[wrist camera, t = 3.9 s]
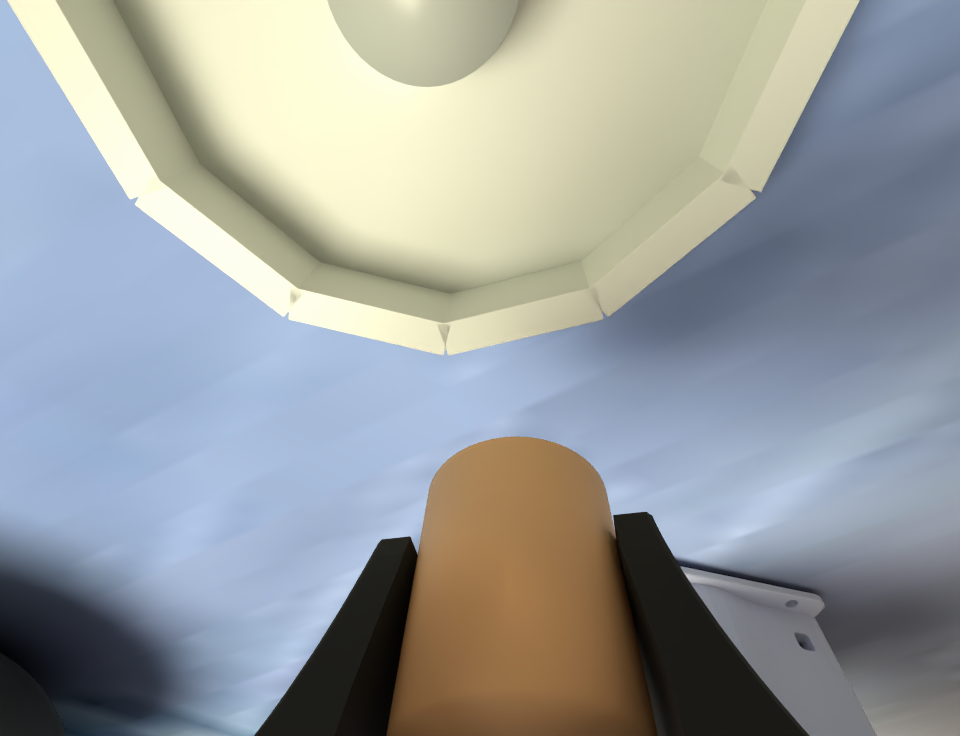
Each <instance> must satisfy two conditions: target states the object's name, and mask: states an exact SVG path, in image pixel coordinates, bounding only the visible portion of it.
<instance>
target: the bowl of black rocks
mask: <svg viewBox="0 0 960 736" xmlns="http://www.w3.org/2000/svg"><path fill="white" fill-rule="evenodd" d="M0 736H66V734H65V731H64V728H63V725H62V722H61V719H60V717H59V715H58V713H57V711H56V709H55V707H54V705H53V703H52V701H51V700H50V698H49V697H48V695H47V694H46V693H45V691H44V690H43V689H42V688H41V686H40V685H39V684H38V682H37V681H36V680H35V679H34V678H33V677H32V676H31V675H30V674H29V673H27V672H26V671H25V670H24V669H23V668H22V667H20V666H19V665H18V664H17V663H15V662H14V661H13V660H11V659H10V658H8V657H7V656H5V655H3V654H2V653H0Z"/></svg>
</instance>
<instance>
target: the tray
mask: <svg viewBox="0 0 960 736" xmlns="http://www.w3.org/2000/svg"><path fill="white" fill-rule="evenodd" d="M7 1H8V2H9V4H10V6H11V7H12V9H13V11H14V12H15V14H16V15H17V17H18V19H19V20H20V22H21V23H22V25H23V27H24V28H25V30H26V32H27V33H28V35H29V36H30V38H31V40H32V41H33V43H34V45H35V46H36V48H37V49H38V51H39V53H40V54H41V56H42V58H43V59H44V61H45V62H46V64H47V66H48V67H49V69H50V71H51V72H52V74H53V75H54V77H55V79H56V80H57V82H58V83H59V85H60V87H61V88H62V90H63V92H64V93H65V95H66V96H67V98H68V100H69V101H70V103H71V105H72V106H73V108H74V109H75V111H76V113H77V114H78V116H79V118H80V119H81V121H82V122H83V124H84V126H85V127H86V129H87V130H88V132H89V134H90V135H91V137H92V139H93V140H94V142H95V143H96V145H97V147H98V148H99V150H100V152H101V153H102V155H103V156H104V158H105V160H106V161H107V163H108V165H109V166H110V168H111V169H112V171H113V173H114V174H115V176H116V178H117V179H118V181H119V182H120V184H121V186H122V187H123V189H124V190H125V192H126V194H127V195H128V197H129V199H132V198H135V197H138V196H139V198H138V200H137V202H136V203H135V205H136V206H137V207H139V208H140V209H141V210H143V211H144V212H145V213H147V214H148V215H149V216H151V217H152V218H153V219H155V220H156V221H157V222H159V223H160V224H161V225H163V226H164V227H165V228H166V229H168V230H169V231H170V232H172V233H173V234H174V235H176V236H177V237H178V238H180V239H181V240H182V241H184V242H185V243H186V244H188V245H189V246H190V247H192V248H193V249H194V250H196V251H197V252H198V253H200V254H201V255H202V256H204V257H205V258H206V259H208V260H209V261H210V262H212V263H213V264H214V265H216V266H217V267H218V268H219V269H221V270H222V271H223V272H225V273H226V274H227V275H229V276H230V277H231V278H233V279H234V280H235V281H237V282H238V283H239V284H241V285H242V286H243V287H245V288H246V289H247V290H249V291H250V292H251V293H253V294H254V295H255V296H257V297H258V298H259V299H261V300H262V301H263V302H265V303H266V304H267V305H269V306H270V307H271V308H272V309H274V310H275V311H276V312H278V313H279V314H280V315H282V316H283V317H284V316H285V315H286V313H287V312H288V311H289V319H290V320H294V321H298V322H302V323H307V324H311V325H315V326H320V327H324V328H328V329H332V330H337V331H341V332H345V333H350V334H354V335H358V336H362V337H367V338H371V339H375V340H380V341H384V342H388V343H392V344H397V345H401V346H405V347H410V348H414V349H418V350H422V351H427V352H431V353H435V354H440V355H444V350H445V347H446V350H447V353H448V355H452V354H457V353H461V352H465V351H470V350H474V349H478V348H483V347H487V346H491V345H496V344H500V343H504V342H509V341H513V340H517V339H522V338H526V337H530V336H535V335H539V334H543V333H548V332H552V331H556V330H561V329H565V328H569V327H574V326H578V325H582V324H587V323H591V322H595V321H600V320H603V315H602V311H603V312H604V313H605V314H606V315H607V316H608V317H609V316H611V315H612V314H613V313H614V312H616V311H617V310H618V309H619V308H621V307H622V306H623V305H624V304H625V303H627V302H628V301H629V300H630V299H632V298H633V297H634V296H635V295H637V294H638V293H639V292H640V291H642V290H643V289H644V288H645V287H647V286H648V285H649V284H650V283H651V282H653V281H654V280H655V279H656V278H658V277H659V276H660V275H661V274H663V273H664V272H665V271H666V270H668V269H669V268H670V267H671V266H673V265H674V264H675V263H676V262H678V261H679V260H680V259H681V258H682V257H684V256H685V255H686V254H687V253H689V252H690V251H691V250H692V249H694V248H695V247H696V246H697V245H699V244H700V243H701V242H702V241H704V240H705V239H706V238H707V237H708V236H710V235H711V234H712V233H713V232H715V231H716V230H717V229H718V228H720V227H721V226H722V225H723V224H725V223H726V222H727V221H728V220H730V219H731V218H732V217H733V216H734V215H736V214H737V213H738V212H739V211H741V210H742V209H743V208H744V207H746V206H747V205H748V204H749V203H751V202H752V201H753V200H754V199H756V197H755V195H754V194H753V193H752V191H751V190H750V189H752V190H755V191H759V192H761V191H762V189H763V187H764V185H765V184H766V182H767V180H768V178H769V176H770V174H771V172H772V170H773V168H774V166H775V164H776V162H777V160H778V158H779V156H780V154H781V152H782V150H783V149H784V147H785V145H786V143H787V141H788V139H789V137H790V135H791V133H792V131H793V129H794V127H795V125H796V123H797V121H798V119H799V117H800V115H801V114H802V112H803V110H804V108H805V106H806V104H807V102H808V100H809V98H810V96H811V94H812V92H813V90H814V88H815V86H816V84H817V82H818V80H819V79H820V77H821V75H822V73H823V71H824V69H825V67H826V65H827V63H828V61H829V59H830V57H831V55H832V53H833V51H834V49H835V47H836V46H837V44H838V42H839V40H840V38H841V36H842V34H843V32H844V30H845V28H846V26H847V24H848V22H849V20H850V18H851V16H852V14H853V12H854V11H855V9H856V7H857V5H858V3H859V1H860V0H7Z"/></svg>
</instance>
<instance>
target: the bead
mask: <svg viewBox="0 0 960 736" xmlns="http://www.w3.org/2000/svg"><path fill="white" fill-rule="evenodd" d="M386 736H658V733H657V728H656V723H655V719H654V714H653V709H652V704H651V700H650V695H649V690H648V686H647V681H646V676H645V672H644V667H643V662H642V657H641V653H640V648H639V643H638V639H637V634H636V629H635V624H634V620H633V615H632V610H631V606H630V601H629V597H628V593H627V589H626V585H625V581H624V576H623V571H622V566H621V562H620V557H619V552H618V547H617V543H616V536H615V530H614V526H613V521H612V516H611V512H610V507H609V502H608V497H607V493H606V489H605V486H604V483H603V481H602V479H601V477H600V475H599V474H598V472H597V471H596V470H595V468H594V467H593V466H592V465H591V464H590V463H589V462H588V461H587V460H586V459H584V458H583V457H582V456H580V455H579V454H577V453H576V452H574V451H572V450H570V449H569V448H567V447H564V446H562V445H559V444H557V443H554V442H550V441H547V440H543V439H537V438H531V437H503V438H496V439H491V440H487V441H483V442H479V443H477V444H474V445H472V446H469V447H467V448H465V449H463V450H461V451H459V452H458V453H456V454H455V455H454V456H452V457H451V458H450V459H448V460H447V461H446V462H445V463H444V464H443V465H442V466H441V468H440V469H439V470H438V471H437V473H436V474H435V476H434V478H433V480H432V482H431V485H430V488H429V493H428V499H427V505H426V510H425V516H424V522H423V528H422V533H421V539H420V545H419V551H418V556H417V562H416V568H415V574H414V579H413V585H412V591H411V597H410V602H409V608H408V614H407V620H406V626H405V631H404V637H403V643H402V649H401V654H400V660H399V666H398V672H397V677H396V683H395V689H394V695H393V700H392V706H391V712H390V718H389V723H388V729H387V735H386Z"/></svg>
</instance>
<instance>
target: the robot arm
mask: <svg viewBox="0 0 960 736" xmlns="http://www.w3.org/2000/svg"><path fill="white" fill-rule="evenodd" d="M613 517H614V526H615V536H616V543H617V547H618V552H619V557H620V562H621V566H622V571H623V576H624V581H625V585H626V589H627V593H628V597H629V601H630V606H631V610H632V615H633V620H634V624H635V629H636V634H637V639H638V643H639V648H640V653H641V657H642V662H643V667H644V672H645V676H646V681H647V686H648V690H649V695H650V700H651V704H652V709H653V714H654V719H655V723H656V728H657V733H658V736H877V735H876V733H875V731H874V730H873V728H872V726H871V724H870V722H869V720H868V718H867V716H866V714H865V712H864V710H863V709H862V707H861V705H860V703H859V701H858V699H857V697H856V695H855V693H854V691H853V689H852V688H851V686H850V684H849V682H848V680H847V678H846V676H845V674H844V672H843V670H842V668H841V667H840V665H839V663H838V661H837V659H836V657H835V655H834V653H833V651H832V649H831V647H830V646H829V644H828V642H827V640H826V638H825V636H824V634H823V632H822V630H821V628H820V626H819V625H818V623H817V621H816V619H815V617H816V616H817V615H818V614H819V613H820V612H821V611H822V610H823V608H824V603H823V601H822V599H821V597H820V596H819V595H816V594H812V593H807V592H803V591H798V590H793V589H788V588H783V587H778V586H774V585H769V584H764V583H759V582H754V581H750V580H745V579H740V578H735V577H730V576H725V575H721V574H716V573H711V572H706V571H701V570H696V569H692V568H687V567H682V566H679V564H678V562H677V561H676V559H675V558H674V556H673V554H672V553H671V551H670V549H669V547H668V546H667V544H666V542H665V540H664V539H663V537H662V535H661V533H660V531H659V529H658V527H657V525H656V523H655V521H654V519H653V517H652V515H650V514H649V513H647V512H640V513H630V514H621V515H613ZM417 556H418V555H417V552H416V550H415V547H414V545H413V542H412V540H411V537H401V538H392V539H382V540H381V541H380V542H379V543H378V545H377V547H376V549H375V550H374V552H373V554H372V556H371V557H370V559H369V561H368V563H367V564H366V566H365V568H364V570H363V571H362V573H361V575H360V577H359V578H358V580H357V582H356V584H355V585H354V587H353V589H352V590H351V592H350V594H349V595H348V597H347V599H346V601H345V602H344V604H343V606H342V607H341V609H340V611H339V612H338V614H337V615H336V617H335V619H334V620H333V622H332V623H331V625H330V627H329V628H328V630H327V631H326V633H325V635H324V636H323V638H322V640H321V641H320V643H319V644H318V646H317V647H316V649H315V650H314V652H313V654H312V655H311V656H310V658H309V659H308V661H307V662H306V664H305V665H304V667H303V668H302V670H301V671H300V673H299V674H298V676H297V677H296V679H295V680H294V682H293V683H292V684H291V686H290V687H289V689H288V690H287V692H286V693H285V695H284V696H283V698H282V699H281V700H280V702H279V703H278V704H277V706H276V707H275V709H274V710H273V711H272V713H271V714H270V715H269V717H268V718H267V719H266V721H265V722H264V724H263V725H262V726H261V728H260V729H259V730H258V731H257V733H256V734H255V735H254V736H386V735H387V729H388V723H389V718H390V712H391V706H392V700H393V695H394V689H395V683H396V677H397V672H398V666H399V660H400V654H401V649H402V643H403V637H404V631H405V626H406V620H407V614H408V608H409V602H410V597H411V591H412V585H413V579H414V574H415V568H416V562H417Z"/></svg>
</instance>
